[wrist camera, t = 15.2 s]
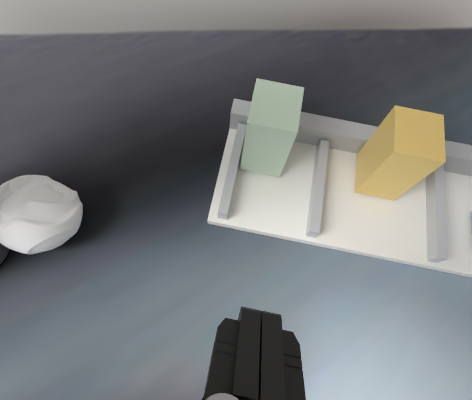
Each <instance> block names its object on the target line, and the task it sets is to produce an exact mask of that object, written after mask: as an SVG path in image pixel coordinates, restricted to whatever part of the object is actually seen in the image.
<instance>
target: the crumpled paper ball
mask: <svg viewBox="0 0 472 400" xmlns="http://www.w3.org/2000/svg"><path fill="white" fill-rule="evenodd" d="M82 214H83V204H82V202H81V201H80V199H79V196H78V194H77V191H73V190H72V189H70V188H68V187H66V186H65V185H63V184H61V183H59V182H57V181H54V180H52V179H51V178H50V177H48V176H42V175H24V176H19V177H16V178H14V179H11V180H9V181H7V182H5V183H3V184H1V185H0V243H1V244H2V245H4V246H5V247H7V248H9V249H12V250H14V251H17V252H20V253H24V254H36V253H39V252H44V251H48V250H52V249H54V248H56V247H58V246H60V245H62V244H63V243H65V242H66V241H67V240H68V239H69V238H70V237H72V236H73V235H74V234H75V233H76V232H77V231H78V229H79V227H80V224H81V220H82Z"/></svg>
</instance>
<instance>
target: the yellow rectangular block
mask: <svg viewBox="0 0 472 400" xmlns="http://www.w3.org/2000/svg"><path fill="white" fill-rule="evenodd" d="M445 162H446V155H445V133H444V115H441V114H436V113H431V112H426V111H421V110H416V109H411V108H406V107H401V106H394V108H393V109H392V110H391V111H390V113H389V114H388V115H387V116H386V118H385V119H384V120H383V122H382V123H381V124H380V125H379V127H378V128H377V129H376V130H375V132H374V133H373V134H372V136H371V137H370V138H369V139H368V141H367V142H366V143H365V144H364V146H363V147H362V148H361V150H360V151H359V152H358V153H357V161H356V176H355V190H354V192H355V193H360V194H365V195H370V196H375V197H380V198H385V199H389V200H396V199H397V198H398V197H400V196H401V195H402V194H404V193H405V192H406V191H408V190H409V189H410V188H412V187H413V186H414V185H416V184H417V183H418V182H420V181H421V180H422V179H424V178H425V177H427V176H428V175H429V174H431V173H432V172H433V171H435V170H436V169H437V168H439V167H440V166H441V165H443V164H444V163H445Z"/></svg>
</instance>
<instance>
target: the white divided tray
mask: <svg viewBox="0 0 472 400" xmlns="http://www.w3.org/2000/svg"><path fill="white" fill-rule="evenodd" d="M250 106H251V102H249V101H244V100H239V99H234V101H233V105H232V109H231V115H230V129H229V133H228V137H227V141H226V145H225V150H224V154H223V158H222V162H221V166H220V170H219V174H218V178H217V183H216V187H215V191H214V195H213V199H212V203H211V207H210V212H209V216H208V220H207V222H208V224H213V225H218V226H223V227H228V228H232V229H237V230H242V231H247V232H252V233H257V234H262V235H267V236H271V237H276V238H281V239H286V240H291V241H296V242H301V243H305V244H310V245H315V246H320V247H325V248H330V249H335V250H340V251H344V252H349V253H354V254H359V255H364V256H369V257H374V258H378V259H383V260H388V261H393V262H398V263H403V264H408V265H412V266H417V267H422V268H427V269H432V270H437V271H442V272H447V273H451V274H456V275H461V276H466V277H471V278H472V232H471V218H470V212H471V211H472V145H467V144H462V143H457V142H452V141H447V140H445V155H446V162H445V163H444V164H443V165H441V166H440V167H439V168H437V169H436V170H435V171H433V172H432V173H431V174H429V175H428V176H427V177H425V178H424V179H422V180H421V181H420V182H418V183H417V184H416V185H414V186H413V187H412V188H410V189H409V190H408V191H406V192H405V193H404V194H402V195H401V196H400V197H398V198H397V199H396V200H389V199H385V198H380V197H375V196H370V195H365V194H360V193H355V192H354V190H355V176H356V161H357V153H358V152H359V151H360V150H361V148H362V147H363V146H364V144H365V143H366V142H367V141H368V139H369V138H370V137H371V136H372V134H373V133H374V132H375V130H376V129H377V128H378V127H376V126H371V125H366V124H361V123H356V122H351V121H346V120H341V119H335V118H330V117H325V116H320V115H315V114H310V113H305V112H301V113H300V120H299V127H298V133H297V135H296V138H295V140H294V143H293V145H292V148H291V150H290V153H289V155H288V157H287V160H286V162H285V165H284V167H283V170H282V172H281V175H280V177H276V176H271V175H266V174H261V173H256V172H251V171H246V170H241V169H240V166H241V160H242V153H243V146H244V139H245V132H246V125H247V120H248V115H249V111H250Z"/></svg>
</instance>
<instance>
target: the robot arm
mask: <svg viewBox="0 0 472 400" xmlns="http://www.w3.org/2000/svg"><path fill="white" fill-rule="evenodd" d="M9 250H10V249H9V248H7V247H5V246H4V245H2V244H1V243H0V264H1V263H2V262H3V261H4V259H5V257H6V256H7V254H8V252H9ZM202 400H306V398H305V388H304V379H303V371H302V361H301V352H300V344H299V342H298V341H297V339H296V337H295V335H294V333H293V332H290V331H285V330H282V318H281V315H280V314H275V313H270V312H266V311H260V310H256V309H251V308H246V307H241V309H240V313H239V317H238V320H233V319H228V318H225V319H224V320H223V321H222V323H221V324H220V325H219V326H218V329H217V333H216V338H215V342H214V347H213V351H212V356H211V361H210V366H209V372H208V377H207V382H206V387H205V393H204V397H203V398H202Z"/></svg>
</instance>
